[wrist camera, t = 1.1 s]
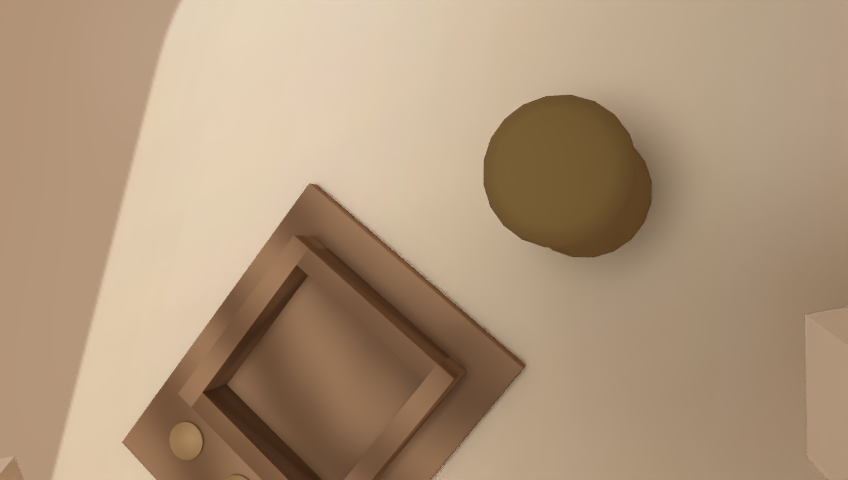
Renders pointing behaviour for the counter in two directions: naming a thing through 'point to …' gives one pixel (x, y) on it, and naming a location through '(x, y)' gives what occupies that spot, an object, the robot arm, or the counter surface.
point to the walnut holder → (324, 367)
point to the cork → (567, 177)
